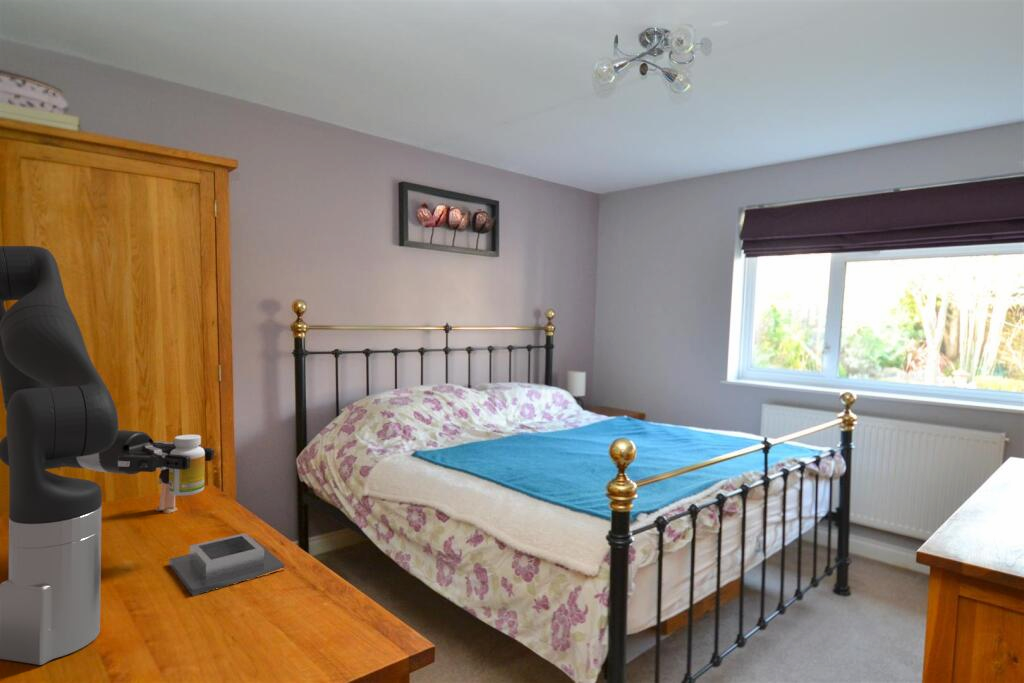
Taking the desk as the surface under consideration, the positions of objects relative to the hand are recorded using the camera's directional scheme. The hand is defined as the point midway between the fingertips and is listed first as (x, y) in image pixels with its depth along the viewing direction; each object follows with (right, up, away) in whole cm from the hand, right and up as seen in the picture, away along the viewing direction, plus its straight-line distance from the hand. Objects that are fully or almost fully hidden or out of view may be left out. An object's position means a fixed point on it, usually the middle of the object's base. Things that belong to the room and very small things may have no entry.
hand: (200, 458), depth 97 cm
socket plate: (+6, -18, -2) cm, 19 cm away
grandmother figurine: (-20, -16, +23) cm, 34 cm away
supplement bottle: (-3, -6, +1) cm, 7 cm away
